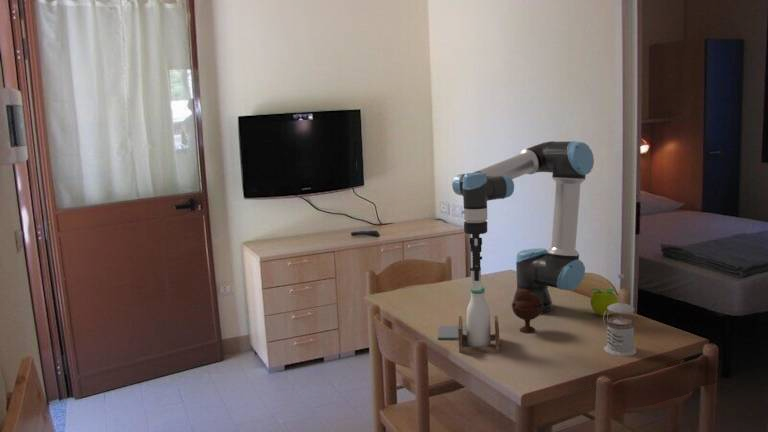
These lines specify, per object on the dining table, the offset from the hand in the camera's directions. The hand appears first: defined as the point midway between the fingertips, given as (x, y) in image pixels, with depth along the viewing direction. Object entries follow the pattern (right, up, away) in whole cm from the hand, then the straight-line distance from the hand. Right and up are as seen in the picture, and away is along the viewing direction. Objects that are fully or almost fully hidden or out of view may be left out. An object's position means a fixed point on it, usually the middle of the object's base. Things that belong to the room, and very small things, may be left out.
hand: (476, 284), depth 209 cm
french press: (+44, -20, -6) cm, 49 cm away
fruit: (+51, -14, +27) cm, 60 cm away
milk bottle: (+1, -21, +4) cm, 21 cm away
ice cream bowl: (+20, -18, +15) cm, 31 cm away
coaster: (-5, -19, +15) cm, 25 cm away
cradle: (+1, -21, +4) cm, 21 cm away
